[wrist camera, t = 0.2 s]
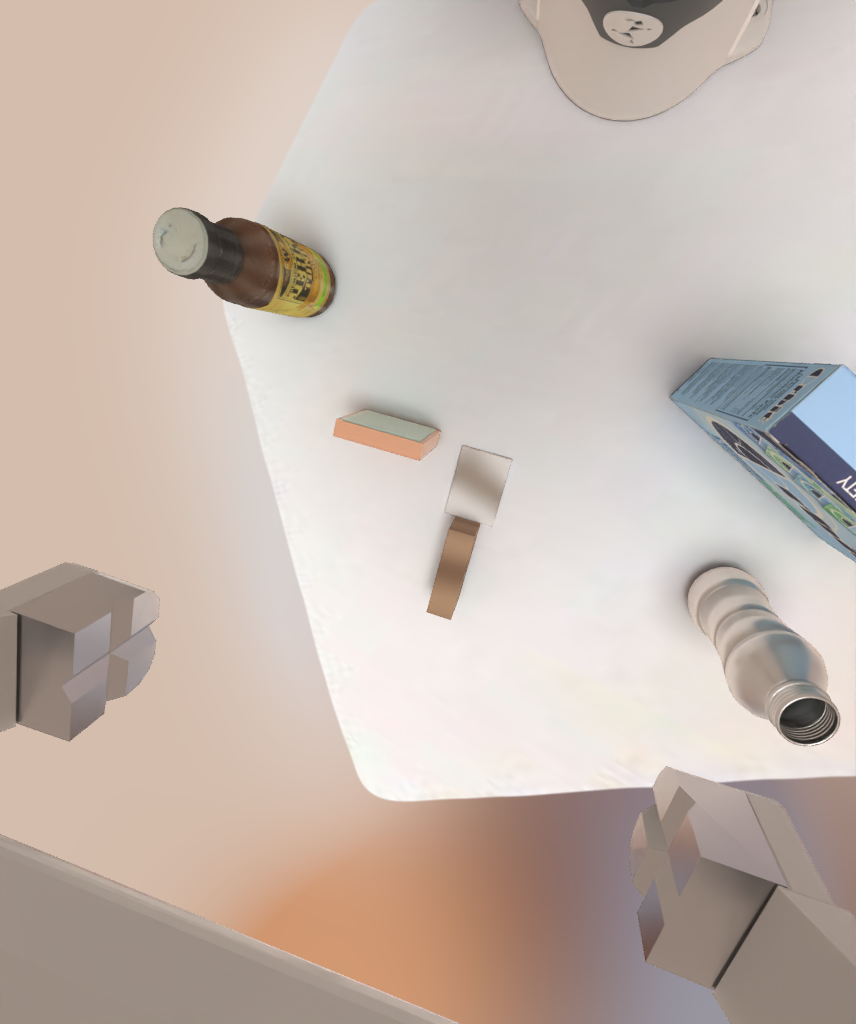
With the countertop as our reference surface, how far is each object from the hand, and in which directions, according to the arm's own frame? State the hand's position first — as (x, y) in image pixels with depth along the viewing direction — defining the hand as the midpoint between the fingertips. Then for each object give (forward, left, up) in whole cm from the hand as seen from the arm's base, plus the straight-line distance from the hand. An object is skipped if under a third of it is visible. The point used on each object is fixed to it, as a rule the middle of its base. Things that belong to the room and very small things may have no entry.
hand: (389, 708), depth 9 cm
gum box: (-2, +22, -48) cm, 53 cm away
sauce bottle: (-6, -23, -48) cm, 53 cm away
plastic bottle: (+12, +23, -48) cm, 54 cm away
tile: (+5, -11, -44) cm, 45 cm away
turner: (+12, -2, -48) cm, 49 cm away
